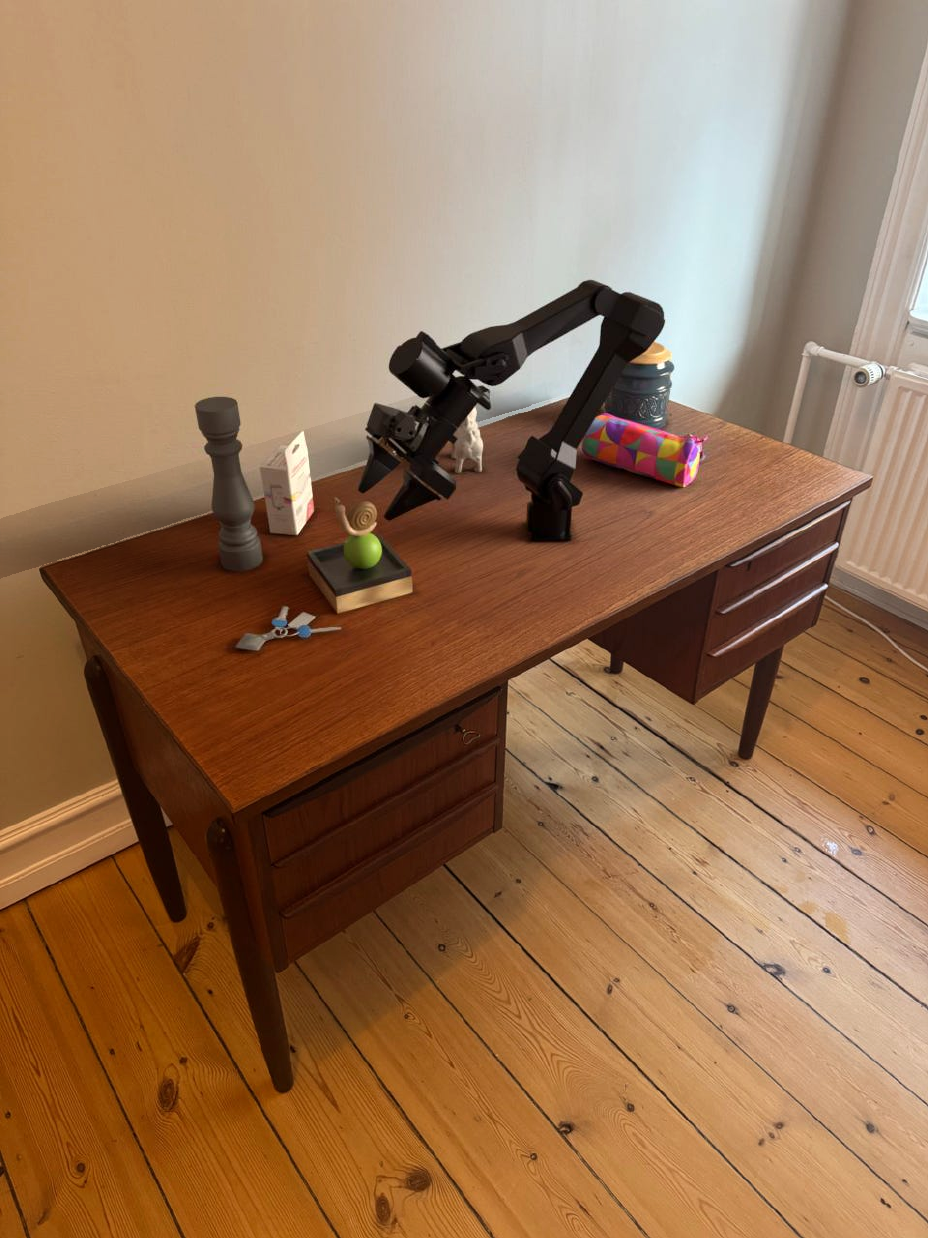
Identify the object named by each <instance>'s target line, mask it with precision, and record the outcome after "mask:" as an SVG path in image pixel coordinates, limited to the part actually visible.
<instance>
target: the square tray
mask: <svg viewBox="0 0 928 1238" xmlns="http://www.w3.org/2000/svg"><path fill="white" fill-rule="evenodd" d="M374 535H375V536H376V537H377V538H378V540H379V541H380V544H381V548H382V553H381V557H380V559H379V561H378V562H377V563H376V564H375V565H374V566H372V567H370V568H368V569H358V568H355V567H353V566H352V565H350V564H349V563H348V561H347V560H346V558H345V556H344V544H345V542H346V541H345V542H341V543H336V544H331V545H327V546H325V547H321V548H315V549H313V550H309V551H306V558H307V568H308V575H309V576H310V578H311V579H312V580H313V583H314V584H315V585H316V587H318V589H319V590H320V592H321V593H322V594H323V596H324V597H325V598H326V600H327V601H328V603H329V604H330V606H331V607H332V608H333V610H334V611H335V612H336V614H342V613H346V612H350V611H353V610H356V609H359V608H363V607H366V606H370V605H373V604H377V603H381V602H383V601H388V600H391V599H395V598H398V597H401V596H405V595H408V594H412V593H413V574H412V568H411V567H410V566H409V565H408V564H407V563H406V562H405V561H404V560H403V558H402V557H401V556H400V555H399V554H398V552H396V551H395V549H394V548H393V547H392V546H391V545H390V544H389V543H388V542H387V541H386V539H384V537H383V536H382V535H381V534H380V533H377V534H374Z"/></svg>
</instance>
